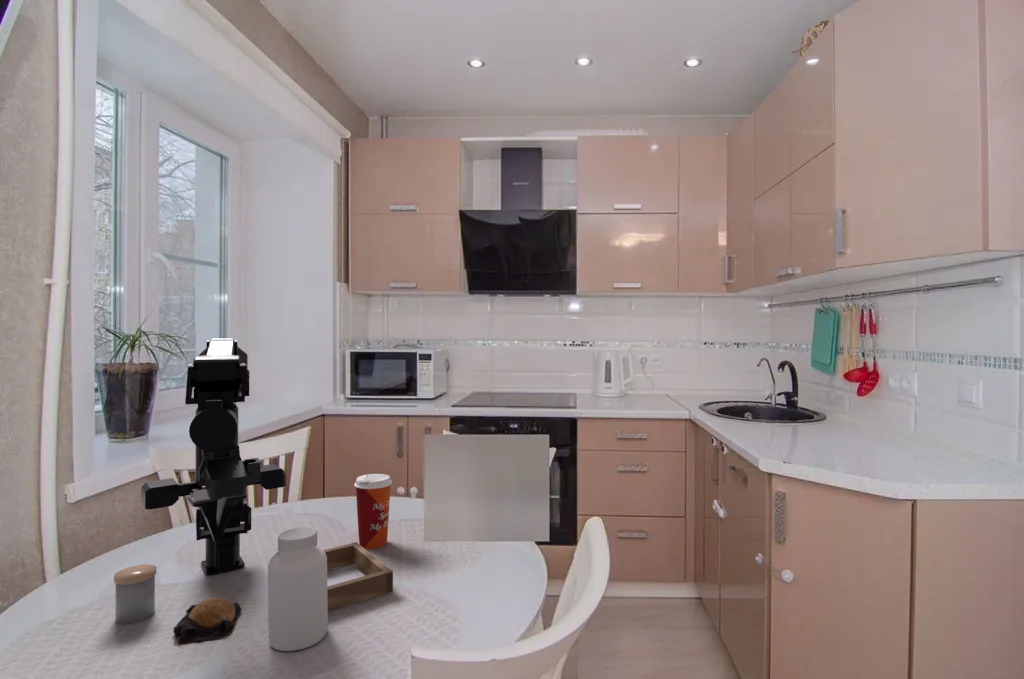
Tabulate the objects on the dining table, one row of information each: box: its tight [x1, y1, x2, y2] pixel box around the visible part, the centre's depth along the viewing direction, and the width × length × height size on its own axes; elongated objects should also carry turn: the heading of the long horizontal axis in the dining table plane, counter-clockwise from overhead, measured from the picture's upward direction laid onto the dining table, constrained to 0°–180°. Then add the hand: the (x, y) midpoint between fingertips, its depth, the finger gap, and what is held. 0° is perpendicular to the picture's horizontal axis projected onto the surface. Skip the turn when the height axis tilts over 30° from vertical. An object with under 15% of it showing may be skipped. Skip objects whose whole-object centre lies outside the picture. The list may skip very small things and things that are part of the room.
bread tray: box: [323, 542, 394, 613], centre depth 92 cm, size 16×15×4 cm
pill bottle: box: [267, 527, 329, 652], centre depth 77 cm, size 8×8×15 cm
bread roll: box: [173, 597, 242, 647], centre depth 80 cm, size 11×8×4 cm
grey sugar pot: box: [113, 563, 157, 625], centre depth 83 cm, size 5×5×7 cm
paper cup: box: [354, 473, 393, 550], centre depth 112 cm, size 8×8×14 cm
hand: (217, 541), depth 81 cm, fingers closed
